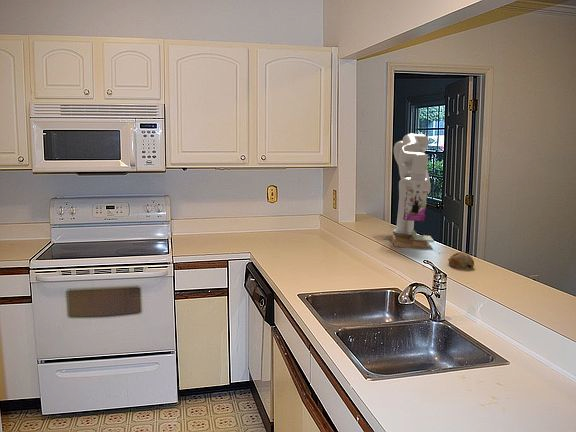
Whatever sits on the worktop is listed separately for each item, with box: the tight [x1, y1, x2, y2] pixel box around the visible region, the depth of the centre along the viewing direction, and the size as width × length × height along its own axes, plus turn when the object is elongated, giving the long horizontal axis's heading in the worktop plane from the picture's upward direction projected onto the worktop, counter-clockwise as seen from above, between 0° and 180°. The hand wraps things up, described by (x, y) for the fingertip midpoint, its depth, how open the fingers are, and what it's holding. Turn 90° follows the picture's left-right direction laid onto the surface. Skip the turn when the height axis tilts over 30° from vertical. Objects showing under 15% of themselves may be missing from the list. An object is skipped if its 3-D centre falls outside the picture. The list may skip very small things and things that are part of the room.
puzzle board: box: [391, 233, 429, 250], centre depth 274 cm, size 18×16×4 cm
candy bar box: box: [403, 188, 429, 222], centre depth 286 cm, size 11×5×16 cm, turn 84°
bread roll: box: [447, 251, 475, 270], centre depth 229 cm, size 10×10×8 cm
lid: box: [412, 229, 435, 243], centre depth 273 cm, size 14×10×3 cm
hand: (414, 211), depth 286 cm, fingers closed on candy bar box, 5 cm apart
